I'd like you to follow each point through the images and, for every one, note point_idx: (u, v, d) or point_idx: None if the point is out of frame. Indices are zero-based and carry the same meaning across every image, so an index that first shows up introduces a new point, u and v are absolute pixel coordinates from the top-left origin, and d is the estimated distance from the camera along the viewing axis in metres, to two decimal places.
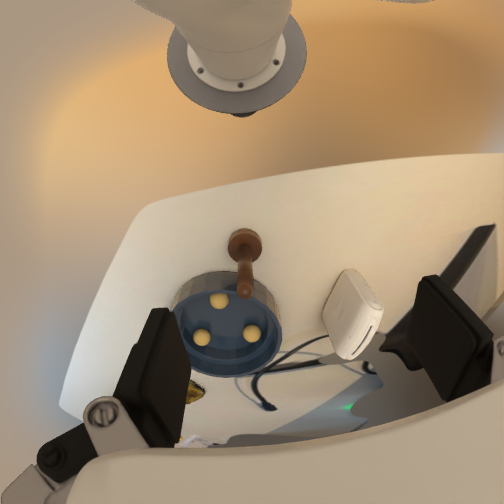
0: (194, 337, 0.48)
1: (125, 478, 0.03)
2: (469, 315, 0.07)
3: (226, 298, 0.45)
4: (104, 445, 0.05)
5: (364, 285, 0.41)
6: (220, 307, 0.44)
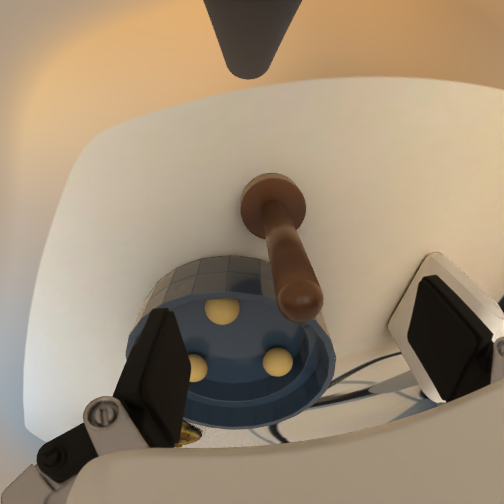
0: None
1: (125, 478, 0.03)
2: (469, 315, 0.07)
3: (236, 306, 0.24)
4: (104, 445, 0.05)
5: (469, 278, 0.20)
6: (224, 322, 0.24)
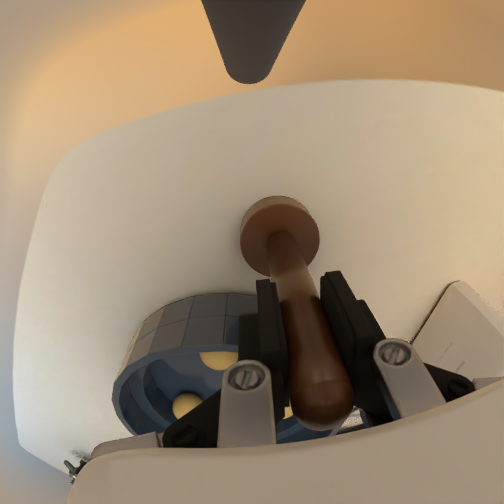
0: (174, 410, 0.23)
1: (125, 478, 0.03)
2: (354, 312, 0.08)
3: None
4: (231, 407, 0.06)
5: (496, 313, 0.16)
6: (222, 368, 0.20)
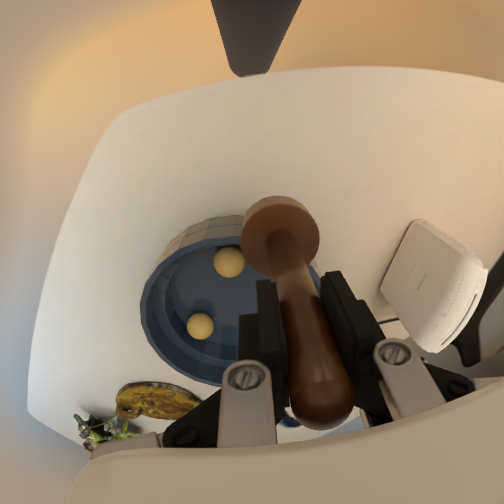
0: (188, 326, 0.30)
1: (125, 478, 0.03)
2: (354, 312, 0.08)
3: (242, 259, 0.27)
4: (231, 407, 0.06)
5: (450, 237, 0.24)
6: (231, 274, 0.27)
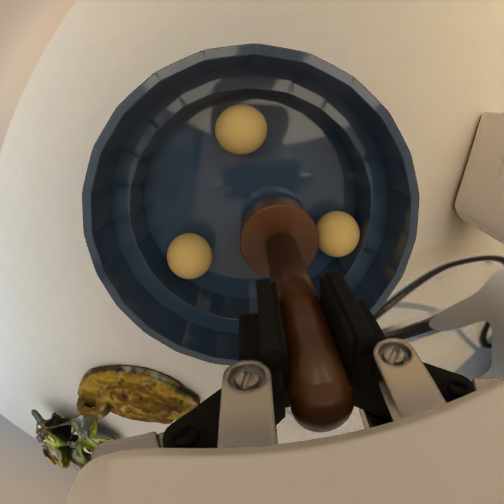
0: (169, 253, 0.18)
1: (125, 478, 0.03)
2: (354, 312, 0.08)
3: (263, 120, 0.15)
4: (231, 407, 0.06)
5: None
6: (245, 140, 0.15)
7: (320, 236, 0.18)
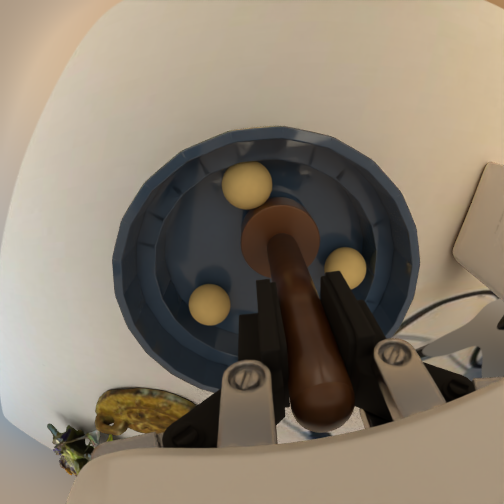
0: (191, 303, 0.20)
1: (125, 478, 0.03)
2: (354, 312, 0.08)
3: (266, 175, 0.16)
4: (231, 407, 0.06)
5: None
6: (242, 188, 0.16)
7: (339, 257, 0.19)
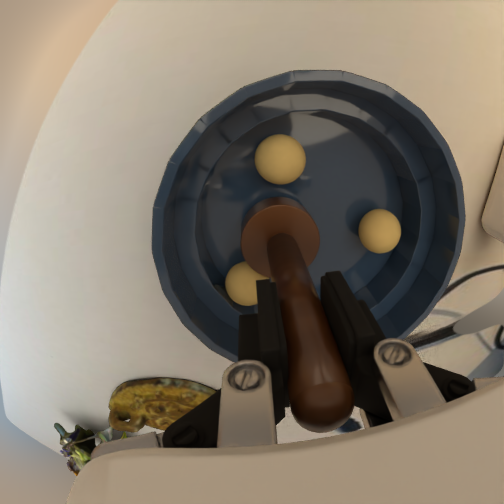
0: (228, 284, 0.19)
1: (125, 478, 0.03)
2: (354, 312, 0.08)
3: None
4: (231, 407, 0.06)
5: None
6: (287, 170, 0.15)
7: (370, 215, 0.18)
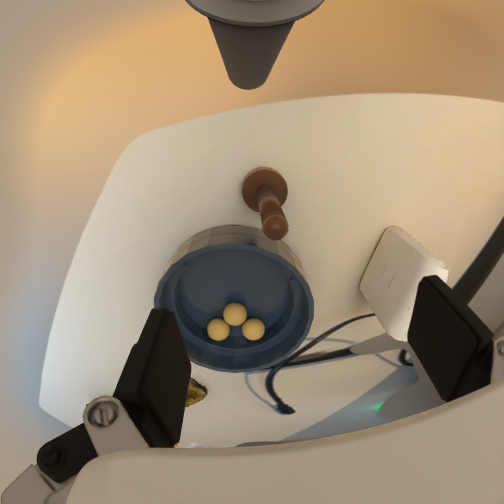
0: (216, 325, 0.37)
1: (125, 478, 0.03)
2: (469, 315, 0.07)
3: (242, 316, 0.36)
4: (104, 445, 0.05)
5: (418, 242, 0.30)
6: (233, 306, 0.36)
7: (250, 339, 0.37)
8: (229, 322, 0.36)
